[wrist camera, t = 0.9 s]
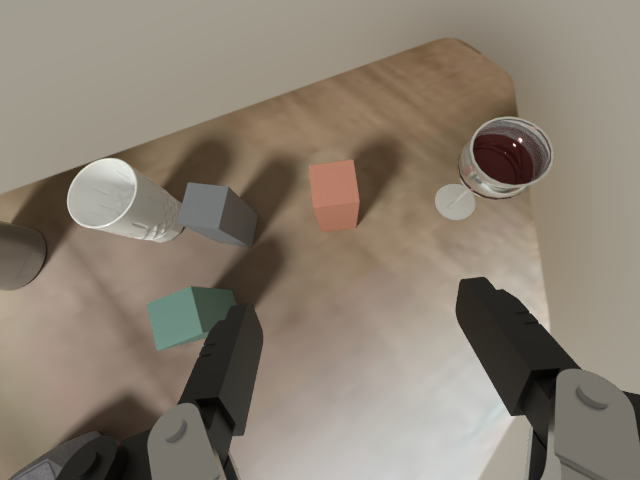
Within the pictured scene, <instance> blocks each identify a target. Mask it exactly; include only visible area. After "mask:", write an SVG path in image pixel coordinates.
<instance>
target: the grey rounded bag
mask: <svg viewBox="0 0 640 480" xmlns="http://www.w3.org/2000/svg"><path fill="white" fill-rule="evenodd" d="M100 436H102V435H101V434H100V433H99V432H98V431H91V432H88V433H86V434H83V435H80V436H78V437H76V438H74V439H71V440H69V441H67V442H65V443H62V444H60V445H58V446H57V447H55V448H54V449H52V450H50V451H49V452H47V453H46V454H44V455H42V456H41V457H39V458H38V459H36V460H35V461H33V462H32V463H30V464H29V465H27V466H26V467H24V468H23V469H21V470H20V471H18V472H17V473H15V474H14V475H13V476H12V477H11V478H10V479H8V480H56V478H57V476H58V475H59V473H60V471H61V470H62V468H63V467H64V465H65V464H66V463H67V461H68V460H69V459H70V458H71V457H72V456H73V454H74V453H75V452H77V451H78V450H79V449H80V448H81V447H82V446H84V445H85V444H86V443H88V442H89V441H91V440H93V439H95V438H97V437H100Z"/></svg>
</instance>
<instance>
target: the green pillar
mask: <svg viewBox="0 0 640 480" xmlns="http://www.w3.org/2000/svg"><path fill="white" fill-rule="evenodd" d="M232 305H237V304H236V301H235V297H234V294H233V290H228V289H216V288H204V287H192V286H190V287H188V288H185V289H183V290H180V291H178V292H175V293H173V294H170V295H168V296H165V297H163V298H160V299H158V300H155V301H153V302H150V303H148V304H147V306H148V311H149V316H150V320H151V325H152V330H153V335H154V339H155V344H156V349H157V351H160V350H164V349H167V348H171V347H174V346H178V345H182V344H185V343H189V342H193V341H196V340H200V339H204V338H207V336H208V333H209V331H210V330H211V329H212V328H213V327H214V326H215V324H216V323H217V322H218V321H219V320H225V318H226V316H227V313H228V311H229V308H230V307H231V306H232Z"/></svg>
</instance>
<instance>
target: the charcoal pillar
mask: <svg viewBox="0 0 640 480" xmlns="http://www.w3.org/2000/svg"><path fill="white" fill-rule="evenodd" d="M257 220H258V215H257V214H256V213H255V212H254V211H253V210H252V209H251V208H250V207H249V206H248V205H247V204H246V203H245V202H244V201H243V200H242V199H241V198H240V197H239V196H238V195H237V194H236V193H235V192H233V191H232V190H231V189H230V188H229V187H226V186H217V185H208V184H199V183H190V182H188V184H187V188H186V192H185V195H184V199H183V202H182V206H181V210H180V213H179V217H178V221H177V224H179V225H181V226H184V227H186V228H188V229H190V230H192V231H195V232H197V233H199V234H201V235H204V236H206V237H208V238H210V239H212V240H215V241H217V242H219V243H224V244H231V245H238V246H245V247H252V244H253V239H254V234H255V229H256V225H257Z"/></svg>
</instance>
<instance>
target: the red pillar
mask: <svg viewBox="0 0 640 480" xmlns="http://www.w3.org/2000/svg"><path fill="white" fill-rule="evenodd" d="M309 172H310V182H311V191H312V201H313V208H314V211H315V214H316V217H317V220H318V222H319V225H320V228H321V231H322V232H326V231H334V230H342V229H350V228H356V225H357V217H358V210H359V203H360V201H359V194H358V187H357V181H356V174H355V167H354V160H346V161H339V162H332V163H325V164H318V165H312V166H309Z"/></svg>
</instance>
